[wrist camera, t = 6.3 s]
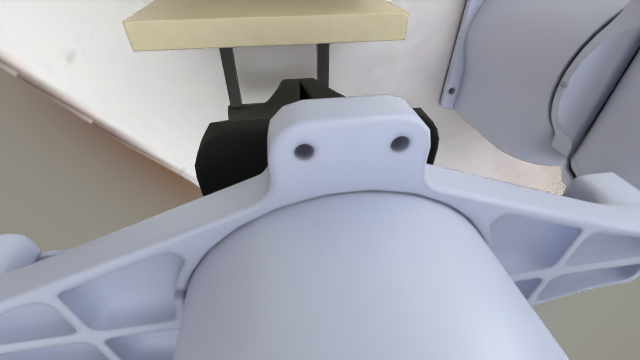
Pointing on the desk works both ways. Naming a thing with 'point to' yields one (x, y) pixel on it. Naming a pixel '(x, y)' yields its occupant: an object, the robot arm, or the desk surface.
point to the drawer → (262, 29)
